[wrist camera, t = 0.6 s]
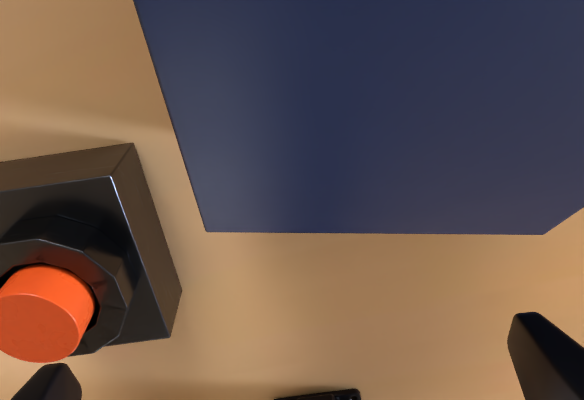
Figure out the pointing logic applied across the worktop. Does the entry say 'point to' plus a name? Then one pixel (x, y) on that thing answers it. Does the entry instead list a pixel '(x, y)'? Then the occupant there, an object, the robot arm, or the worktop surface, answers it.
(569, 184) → the lid
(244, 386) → the worktop surface
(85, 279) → the red push button box
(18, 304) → the button
